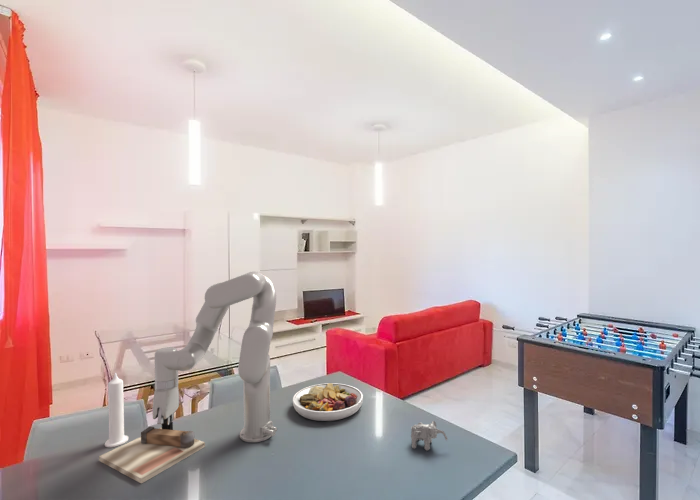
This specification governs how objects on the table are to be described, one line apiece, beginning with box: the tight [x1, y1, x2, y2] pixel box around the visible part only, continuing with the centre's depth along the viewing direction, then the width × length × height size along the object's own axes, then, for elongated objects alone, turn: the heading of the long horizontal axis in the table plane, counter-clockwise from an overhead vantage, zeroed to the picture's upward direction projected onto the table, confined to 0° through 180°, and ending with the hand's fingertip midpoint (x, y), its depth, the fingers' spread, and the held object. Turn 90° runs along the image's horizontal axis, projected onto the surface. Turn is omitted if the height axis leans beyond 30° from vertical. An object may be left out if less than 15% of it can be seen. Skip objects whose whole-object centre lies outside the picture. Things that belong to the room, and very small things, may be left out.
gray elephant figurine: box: [410, 420, 448, 452], centre depth 122 cm, size 9×12×8 cm
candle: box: [104, 372, 129, 448], centre depth 127 cm, size 7×7×25 cm
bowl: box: [292, 382, 364, 422], centre depth 153 cm, size 30×30×8 cm
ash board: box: [98, 426, 206, 484], centre depth 120 cm, size 24×22×2 cm
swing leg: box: [140, 426, 195, 448], centre depth 123 cm, size 19×4×4 cm, turn 79°
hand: (167, 433), depth 128 cm, fingers closed
